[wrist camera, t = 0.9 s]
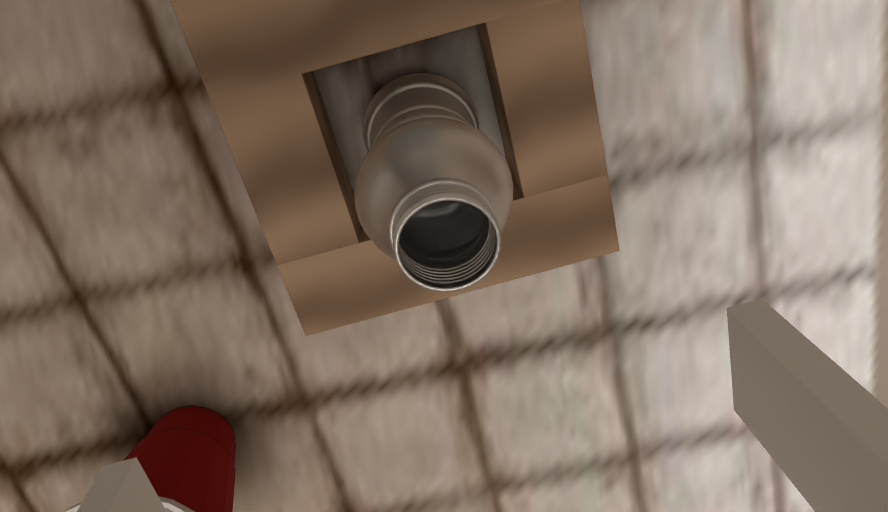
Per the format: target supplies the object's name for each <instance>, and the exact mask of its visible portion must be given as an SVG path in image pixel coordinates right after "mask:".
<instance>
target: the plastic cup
mask: <svg viewBox="0 0 888 512" xmlns="http://www.w3.org/2000/svg"><path fill="white" fill-rule="evenodd" d="M235 448H236V444H235V438H234V435H233V431H232V428H231V426H230V425H229V424H228V422H227V421H226V420H225V419H224V418H223V417H222V416H221V415H219V414H217V413H215V412H213V411H211V410H210V409H206V408H201V407H195V406H190V407H182V408H177V409H175V410H173V411H171V412H169V413H167V414H165V415H164V416H163V417H162V418H160V419H159V420H158V421H157V423H156V424H155V425H154V427H153V428H152V429H151V430H150V432H149V433H148V434H147V435H146V437H145V438H143V439H141V440H140V442H139V443H138V444H137V445H136V446H135V448H134V449H133V450H132V451H131V452H130V453H129V455H128V456H127V457H126V458H125V459H124V460H128V459H132V458H136V457H137V459H138V461H139V463H140V465H141V466H142V468H143V470H144V472H145V474H146V475H147V477H148V479H149V481H150V483H151V484H152V486H153V488H154V490H155V492H156V493H157V495H158V497H159V499H160V501H161V502H162V504H163V506H164V508H165V510H166V511H167V512H232V510H233V496H234V483H235V467H234V462H235ZM81 503H82V502H81ZM81 503H79V504H77V505H75V506H73V507H71V508H68V509H67V510H66V511H64V512H77V510H78V509H79V507H80V505H81Z"/></svg>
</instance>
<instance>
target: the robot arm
mask: <svg viewBox="0 0 888 512" xmlns="http://www.w3.org/2000/svg"><path fill="white" fill-rule="evenodd" d="M727 317H728V331H729V345H730V359H731V373H732V388H733V402H734V410H735V412H736V413H737V414H738V415H739V417H740V418H741V419H742V420H743V422H744V423H745V424H746V425H747V427H748V428H749V429H750V430H751V432H752V433H753V434H754V435H755V437H756V438H757V439H758V440H759V442H760V443H761V444H762V445H763V447H764V448H765V449H766V450H767V452H768V453H769V454H770V455H771V457H772V458H773V459H774V460H775V462H776V463H777V464H778V465H779V467H780V468H781V469H782V470H783V472H784V473H785V474H786V476H787V477H788V478H789V479H790V481H791V482H792V483H793V484H794V486H795V487H796V488H797V489H798V491H799V492H800V493H801V494H802V496H803V497H804V498H805V499H806V501H807V502H808V503H809V504H810V506H811V507H812V508H813V509H814V511H815V512H888V408H887V407H885V406H884V405H883V404H882V403H881V402H880V401H878V400H877V399H876V398H875V397H874V396H873V395H872V394H870V393H869V392H868V391H867V390H866V389H865V388H864V387H862V386H861V385H860V384H859V383H858V382H857V381H856V380H854V379H853V378H852V377H851V376H850V375H849V374H847V373H846V372H845V371H844V370H843V369H842V368H841V367H839V366H838V365H837V364H836V363H835V362H834V361H833V360H831V359H830V358H829V357H828V356H827V355H826V354H825V353H823V352H822V351H821V350H820V349H819V348H818V347H817V346H815V345H814V344H813V343H812V342H811V341H810V340H808V339H807V338H806V337H805V336H804V335H803V334H802V333H800V332H799V331H798V330H797V329H796V328H795V327H794V326H792V325H791V324H790V323H789V322H788V321H787V320H786V319H784V318H783V317H782V316H781V315H780V314H779V313H777V312H776V311H775V310H774V309H773V308H772V307H771V306H769V305H768V304H767V303H766V302H765V301H764V300H763V299H760V300H756V301H752V302H748V303H744V304H740V305H736V306H732V307H728V308H727ZM77 512H167V511H166V510H165V508H164V506H163V504H162V502H161V501H160V499H159V497H158V495H157V493H156V492H155V490H154V488H153V486H152V484H151V483H150V481H149V479H148V477H147V475H146V474H145V472H144V470H143V468H142V466H141V465H140V463H139V461H138V459H137V457H136V458H132V459H128V460H124V461H120V462H116V463H112V464H108V465H104V466H102V468H101V469H100V471H99V473H98V475H97V477H96V478H95V480H94V482H93V484H92V485H91V487H90V489H89V491H88V493H87V494H86V496H85V498H84V500H83V501H82V503H81V505H80V507H79V509H78V510H77Z"/></svg>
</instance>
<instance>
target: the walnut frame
mask: <svg viewBox="0 0 888 512" xmlns="http://www.w3.org/2000/svg"><path fill="white" fill-rule="evenodd" d="M170 2H171V4H172V7H173V9H174V12H175V14H176V17H177V19H178V21H179V24H180V26H181V29H182V31H183V34H184V36H185V39H186V41H187V44H188V46H189V49H190V51H191V54H192V56H193V59H194V61H195V63H196V66H197V68H198V71H199V73H200V76H201V78H202V81H203V83H204V86H205V88H206V91H207V93H208V96H209V98H210V101H211V103H212V106H213V108H214V110H215V113H216V115H217V118H218V120H219V123H220V125H221V128H222V130H223V133H224V135H225V138H226V140H227V143H228V145H229V148H230V150H231V152H232V155H233V157H234V160H235V162H236V165H237V167H238V170H239V172H240V175H241V177H242V180H243V182H244V185H245V187H246V190H247V192H248V194H249V197H250V199H251V202H252V204H253V207H254V209H255V212H256V214H257V217H258V219H259V222H260V224H261V227H262V229H263V232H264V234H265V236H266V239H267V241H268V244H269V246H270V249H271V251H272V254H273V256H274V259H275V261H276V264H277V266H278V269H279V271H280V274H281V276H282V279H283V281H284V283H285V286H286V288H287V291H288V293H289V296H290V298H291V301H292V303H293V306H294V308H295V311H296V313H297V316H298V318H299V321H300V323H301V325H302V328H303V330H304V333H305V335H306V336H308V335H312V334H315V333H319V332H323V331H326V330H330V329H334V328H337V327H341V326H345V325H348V324H352V323H356V322H359V321H363V320H367V319H370V318H374V317H378V316H381V315H385V314H389V313H392V312H396V311H400V310H404V309H407V308H411V307H415V306H418V305H422V304H426V303H429V302H433V301H437V300H440V299H444V298H448V297H451V296H455V295H459V294H462V293H466V292H470V291H473V290H477V289H481V288H484V287H488V286H492V285H496V284H499V283H503V282H507V281H510V280H514V279H518V278H521V277H525V276H529V275H532V274H536V273H540V272H543V271H547V270H551V269H554V268H558V267H562V266H565V265H569V264H573V263H576V262H580V261H584V260H588V259H591V258H595V257H599V256H602V255H606V254H610V253H613V252H617V251H620V250H619V244H618V237H617V231H616V225H615V219H614V212H613V206H612V200H611V194H610V187H609V181H608V175H607V169H606V162H605V156H604V150H603V144H602V137H601V131H600V125H599V119H598V112H597V106H596V100H595V94H594V87H593V81H592V75H591V69H590V62H589V56H588V50H587V44H586V37H585V31H584V25H583V19H582V12H581V6H580V0H173V1H170ZM474 25H477V29H478V34H479V38H480V43H481V47H482V52H483V56H484V60H485V65H486V69H487V74H488V78H489V83H490V87H491V92H492V96H493V100H494V105H495V109H496V114H497V118H498V123H499V127H500V132H501V136H502V140H503V145H504V149H505V154H506V158H507V163H508V167H509V169H510V172H511V176H512V182H513V202H512V206H511V210H510V214H509V217H508V219H507V222H506V224H505V226H504V228H503V230H502V232H501V250H500V253H499V257H498V259H497V261H496V263H495V265H494V267H493V268H492V270H491V271H490V272H489V274H488V275H486V276H485V277H484V278H483V279H482V280H481V281H479V282H478V283H476V284H474V285H473V286H470V287H468V288H465V289H463V290H458V291H454V292H438V291H432V290H428V289H425V288H422V287H421V286H419V285H417V284H415V283H413V282H412V281H411V280H410V279H409V278H407V277H406V275H405V274H404V273H403V272H402V271H401V269H400V267H399V265H398V263H397V261H396V260H394V259H392V258H390V257H389V256H387V255H386V254H385V253H384V252H382V251H381V250H380V249H379V248H378V247H377V246H376V245H375V244H374V243H373V241H372V240H371V239H370V238H369V237H368V235H367V234H366V233H365V231H364V229H363V227H362V225H361V223H360V221H359V219H358V215H357V212H356V208H355V198H354V194H353V191H352V188H351V185H350V182H349V179H348V176H347V173H346V170H345V167H344V164H343V161H342V158H341V155H340V152H339V149H338V146H337V143H336V140H335V137H334V134H333V131H332V128H331V125H330V122H329V119H328V116H327V113H326V110H325V107H324V104H323V101H322V98H321V95H320V92H319V89H318V86H317V83H316V80H315V77H314V74H313V71H314V70H318V69H321V68H325V67H328V66H332V65H335V64H339V63H342V62H346V61H350V60H353V59H357V58H360V57H364V56H367V55H371V54H374V53H378V52H382V51H385V50H389V49H392V48H396V47H399V46H403V45H406V44H410V43H414V42H417V41H421V40H424V39H428V38H431V37H435V36H438V35H442V34H446V33H449V32H453V31H456V30H460V29H463V28H467V27H470V26H474Z"/></svg>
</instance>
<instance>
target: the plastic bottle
mask: <svg viewBox="0 0 888 512" xmlns="http://www.w3.org/2000/svg"><path fill="white" fill-rule="evenodd" d="M363 137H364V141H365V145H366V148H367V151H368V153H367V155H366V156H365V158H364V160H363V162H362V165H361V168H360V170H359V173H358V175H357V178H356V184H355V190H354V198H355V208H356V212H357V215H358V219H359V221H360V223H361V225H362V227H363V229H364V231H365V233H366V234H367V235H368V237H369V238H370V239H371V240H372V241H373V243H374V244H375V245H376V246H377V247H378V248H379V249H380V250H381V251H382V252H384V253H385V254H386V255H387V256H389V257H390V258H392V259H394V260H396V261H397V263H398V265H399V267H400V269H401V271H402V272H403V273H404V274H405V275H406V277H407V278H409V279H410V280H411V281H412V282H413V283H415V284H417V285H419V286H421V287H422V288H425V289H428V290H432V291H438V292H454V291H458V290H463V289H465V288H468V287H470V286H473V285H474V284H476V283H478V282H479V281H481V280H482V279H483V278H484V277H485V276H486V275H488V274H489V272H490V271H491V270H492V268H493V267H494V265H495V263H496V261H497V259H498V257H499V253H500V250H501V232H502V230H503V228H504V226H505V224H506V222H507V219H508V217H509V214H510V210H511V206H512V202H513V182H512V176H511V172H510V169H509V167H508V164H507V162H506V159H505V158H504V156H503V155H502V153H501V152H500V150H499V149H498V147H497V146H496V145H495V144H494V143H493V142H492V141H491V140H490V139H489V138H488V137H486V136H485V135H484V134H483V133H482V132H481V131H479V122H478V117H477V112H476V110H475V107H474V105H473V102H472V101H471V99H470V98H469V96H468V95H467V93H466V92H465V91H464V90H463V89H461V88H460V87H459V86H458V85H457V84H455V83H454V82H452V81H451V80H449V79H447V78H444V77H442V76H439V75H435V74H429V73H414V74H409V75H404V76H401V77H399V78H397V79H394V80H392V81H391V82H389V83H388V84H386V85H385V86H384V87H382V88H381V89H380V90H379V91H378V92H377V93H376V95H375V96H374V97H373V99H372V100H371V102H370V104H369V105H368V108H367V111H366V113H365V117H364V123H363Z"/></svg>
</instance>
